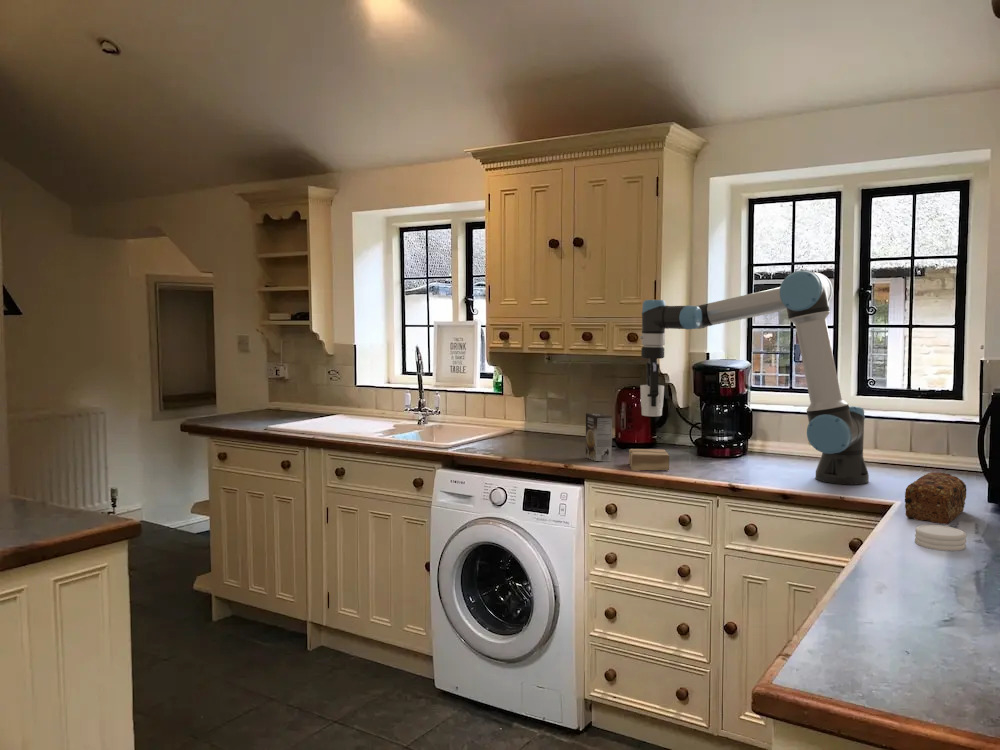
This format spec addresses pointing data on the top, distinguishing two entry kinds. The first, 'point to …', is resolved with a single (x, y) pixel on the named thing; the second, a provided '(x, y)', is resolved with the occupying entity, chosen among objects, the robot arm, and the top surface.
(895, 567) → the top surface
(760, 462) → the top surface
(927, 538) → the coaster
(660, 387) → the white cup
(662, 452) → the oak block
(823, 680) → the top surface
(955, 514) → the bread
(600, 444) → the coffee box
